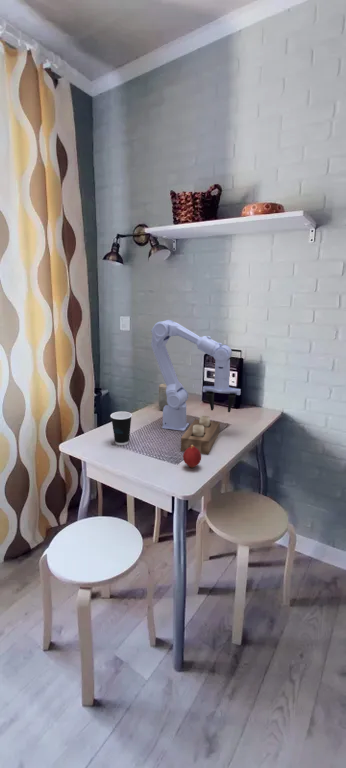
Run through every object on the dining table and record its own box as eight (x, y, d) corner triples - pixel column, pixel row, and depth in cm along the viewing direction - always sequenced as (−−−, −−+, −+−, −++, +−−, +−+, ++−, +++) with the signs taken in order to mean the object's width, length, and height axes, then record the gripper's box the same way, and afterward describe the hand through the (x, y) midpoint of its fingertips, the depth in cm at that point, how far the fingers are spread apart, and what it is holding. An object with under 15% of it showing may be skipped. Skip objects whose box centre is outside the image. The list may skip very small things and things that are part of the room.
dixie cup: (131, 437, 150) (130, 410, 147) (134, 445, 142) (133, 417, 140) (110, 439, 148) (109, 412, 145) (112, 448, 141) (111, 419, 138)
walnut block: (180, 450, 139) (181, 437, 137) (194, 430, 157) (195, 419, 156) (208, 454, 136) (208, 441, 134) (219, 433, 154) (219, 421, 153)
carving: (155, 410, 182) (155, 385, 179) (164, 405, 188) (164, 382, 185) (166, 412, 178) (166, 387, 175) (175, 408, 184) (175, 384, 181)
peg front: (191, 439, 140) (191, 427, 138) (194, 435, 143) (194, 424, 142) (202, 441, 138) (202, 429, 137) (204, 436, 142) (205, 425, 141)
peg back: (198, 429, 149) (198, 418, 148) (200, 426, 152) (200, 415, 151) (208, 430, 148) (208, 419, 146) (210, 427, 151) (210, 416, 150)
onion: (190, 461, 130) (190, 439, 128) (204, 466, 127) (205, 444, 125) (179, 467, 126) (179, 445, 124) (193, 473, 122) (194, 450, 120)
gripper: (201, 378, 147) (200, 411, 151) (239, 381, 143) (237, 415, 147) (205, 373, 154) (204, 406, 157) (242, 376, 150) (240, 410, 153)
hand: (220, 410), depth 153 cm, fingers open, 6 cm apart
